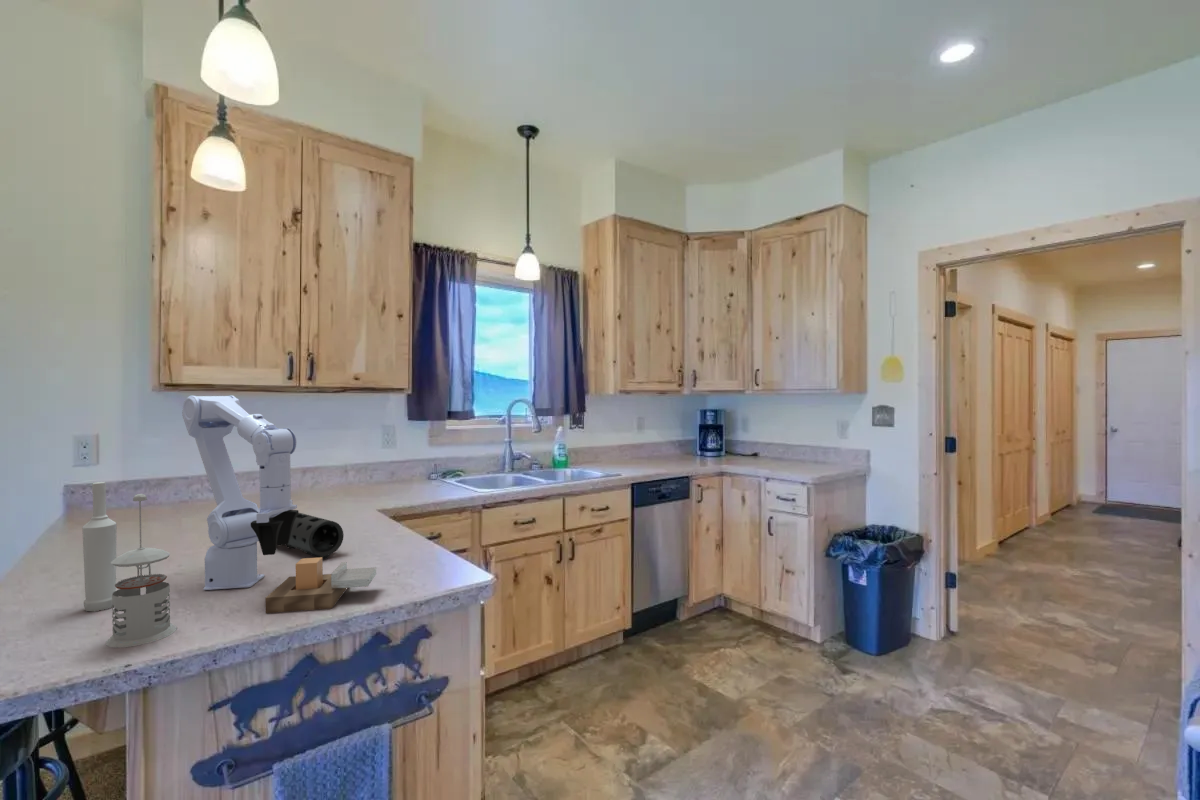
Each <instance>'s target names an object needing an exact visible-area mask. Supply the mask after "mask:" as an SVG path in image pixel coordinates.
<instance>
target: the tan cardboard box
mask: <svg viewBox="0 0 1200 800" xmlns="http://www.w3.org/2000/svg"><path fill="white" fill-rule="evenodd" d="M323 563H324V562H323V559H322V557H306V558H305V557H304V558H301V559H300V560H298V561H297V562H296V563H295V576H296V590H298V589H313V588H320V587H321V586H322V585H323V573H324V571H323V570H324V569H323V567H324V565H323Z"/></svg>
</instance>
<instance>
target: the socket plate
mask: <svg viewBox="0 0 1200 800" xmlns="http://www.w3.org/2000/svg"><path fill="white" fill-rule="evenodd" d="M331 574H332V573H327V574H323V585H322V586H321V587H320V588H313V589H298V590H296V575H294V576H289V577H287V578H286V579H285V580H284V581H282V582H281V583H280V584H279V585H278V586H277V587H276V588H275V589H274V590H272V591H271V592H270V593H269V594H268V595H267V596H266V597H265V605H264V606H265V607H264V608H265V614H274V613H287V612H300V611H301V610H303V611H312V610H313V611H314V610H326V609H327V610H328V609H329V610H330V609H333V608H334V606H335V605H336V604H337V603H338V601H339V600H340V599H341V597H342V596H343V595H342V594H344V593H345V592H346V591H347V589H346V588H335V589H331ZM345 590H346V591H345ZM344 591H345V592H344ZM343 592H344V593H343ZM341 595H342V596H341ZM340 596H341V597H340ZM338 599H339V600H338ZM335 603H336V604H335ZM301 612H302V611H301Z"/></svg>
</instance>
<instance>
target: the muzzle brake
mask: <svg viewBox="0 0 1200 800" xmlns="http://www.w3.org/2000/svg"><path fill="white" fill-rule="evenodd" d="M344 536H345V535H344V530H343V528H342V525H340V523H338V522H336V521H333V520H330V519H329V520H328V519H326V518H322V517H317V516H314V515H313V516H312V515H309V514H305V513H303V512H299V513H298V515H297V517H296V519H295V521H294V524H293V527H292V531H291V535H290V540H289V543H288V545H285V548H287V547H289V548H288V549H290V548H294V549H297V550H301V552H302V553H306V554H308V555H310V556H313V557H315V558H319V557H322V560H326V558H327V559H329V556H331V555H332V554H334V553H335V552H337V551H338V549H340V548H341V546H342V544H343V542H344V541H343V540H344Z"/></svg>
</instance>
